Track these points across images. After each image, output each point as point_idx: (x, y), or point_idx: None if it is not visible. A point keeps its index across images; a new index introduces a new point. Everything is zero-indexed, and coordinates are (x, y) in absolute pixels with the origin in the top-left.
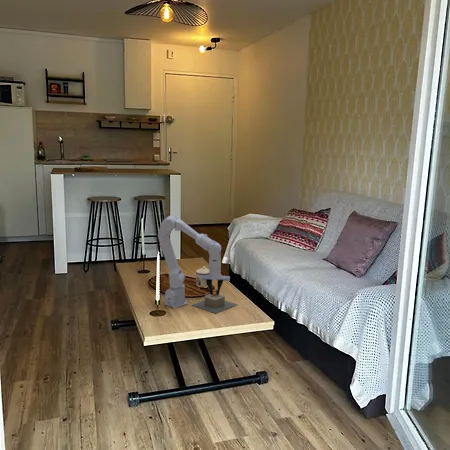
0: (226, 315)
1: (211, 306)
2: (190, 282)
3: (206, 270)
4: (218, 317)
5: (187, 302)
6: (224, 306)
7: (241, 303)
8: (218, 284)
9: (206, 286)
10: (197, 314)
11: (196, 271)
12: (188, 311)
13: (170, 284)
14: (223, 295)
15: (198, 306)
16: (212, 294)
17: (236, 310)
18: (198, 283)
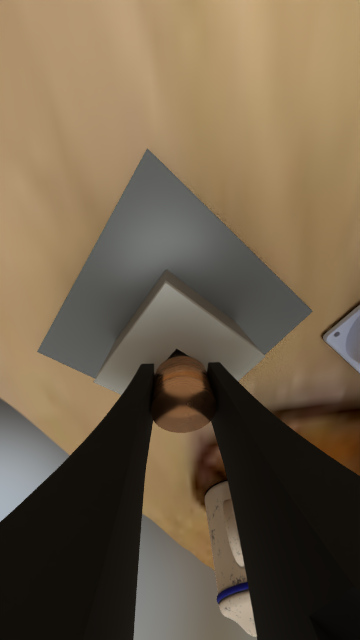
0: (44, 114)
1: (193, 289)
2: None
3: (253, 620)
4: (105, 32)
5: (331, 339)
6: (108, 308)
7: (27, 374)
8: (76, 539)
9: (225, 493)
10: (297, 125)
11: None
12: (351, 199)
13: None
14: (105, 383)
15: (275, 289)
16: (201, 365)
17: (7, 256)
18: None
